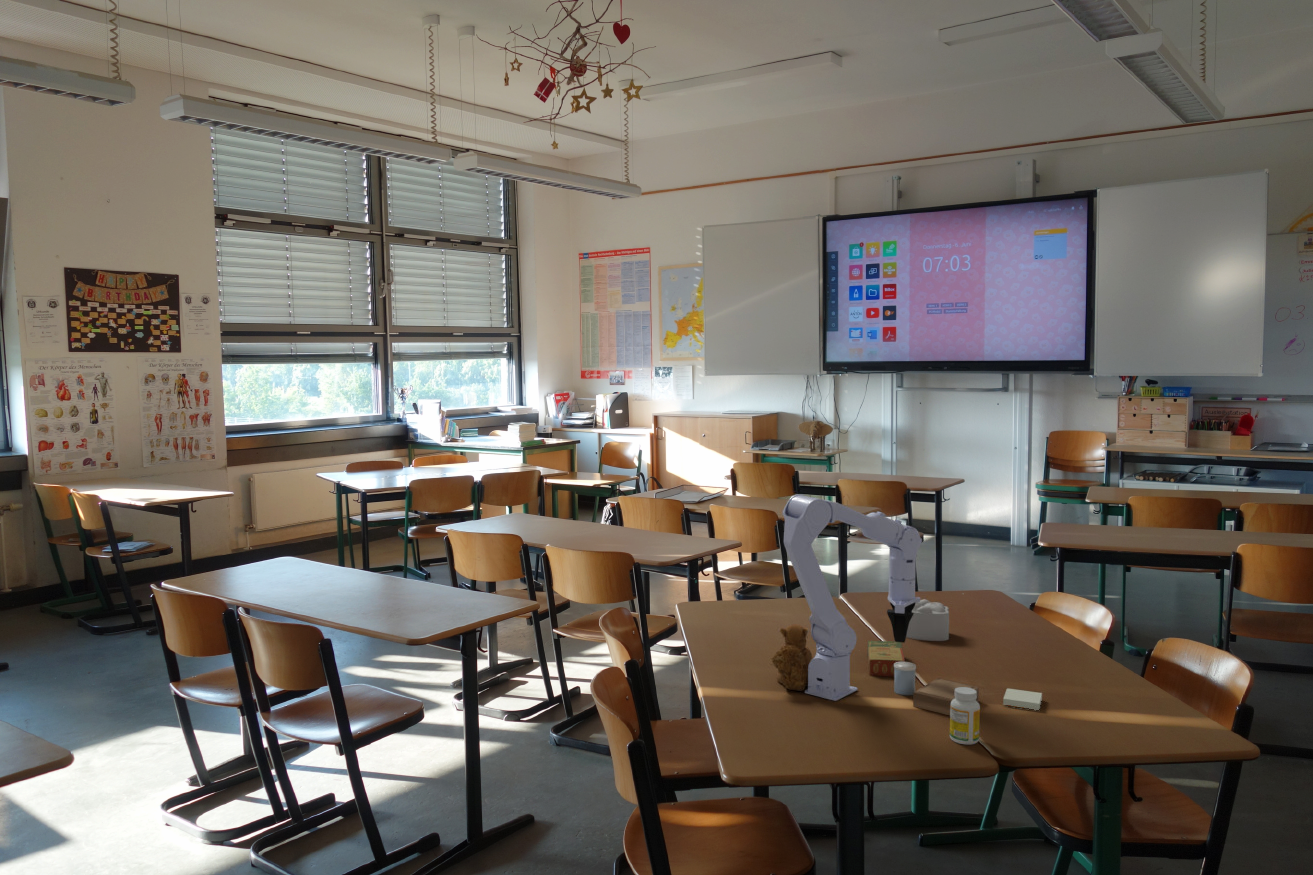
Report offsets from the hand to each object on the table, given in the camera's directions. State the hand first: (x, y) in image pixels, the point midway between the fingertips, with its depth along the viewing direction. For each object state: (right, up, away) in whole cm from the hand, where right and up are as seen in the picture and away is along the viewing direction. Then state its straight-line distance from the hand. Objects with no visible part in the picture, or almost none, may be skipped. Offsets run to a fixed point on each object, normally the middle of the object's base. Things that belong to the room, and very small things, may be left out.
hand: (901, 637), depth 210 cm
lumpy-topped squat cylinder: (+16, -8, +38) cm, 42 cm away
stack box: (+6, -11, -13) cm, 18 cm away
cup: (-1, -11, -6) cm, 12 cm away
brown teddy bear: (-24, -11, -1) cm, 26 cm away
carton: (0, -10, +13) cm, 16 cm away
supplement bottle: (+4, -13, -32) cm, 35 cm away
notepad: (+22, -12, -13) cm, 28 cm away
